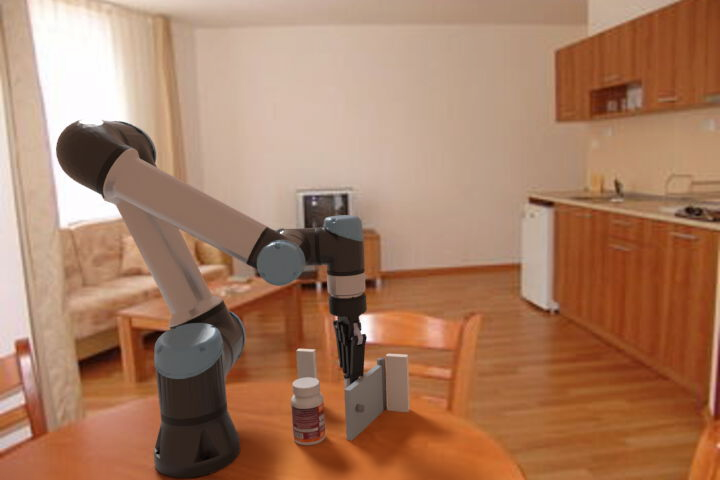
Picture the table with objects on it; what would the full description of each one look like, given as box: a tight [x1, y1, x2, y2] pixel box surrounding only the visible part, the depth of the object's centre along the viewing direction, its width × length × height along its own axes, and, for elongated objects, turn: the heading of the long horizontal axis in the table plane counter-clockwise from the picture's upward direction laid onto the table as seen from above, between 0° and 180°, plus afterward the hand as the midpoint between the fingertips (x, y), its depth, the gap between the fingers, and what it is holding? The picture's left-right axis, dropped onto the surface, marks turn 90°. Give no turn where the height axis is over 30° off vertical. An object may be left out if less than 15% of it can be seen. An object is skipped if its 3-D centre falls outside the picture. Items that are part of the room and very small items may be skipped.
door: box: [343, 357, 388, 441], centre depth 113 cm, size 15×3×11 cm, turn 152°
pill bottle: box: [290, 377, 326, 446], centre depth 108 cm, size 6×6×11 cm
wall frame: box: [295, 348, 411, 413], centre depth 121 cm, size 24×2×12 cm, turn 75°
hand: (353, 405), depth 116 cm, fingers closed
